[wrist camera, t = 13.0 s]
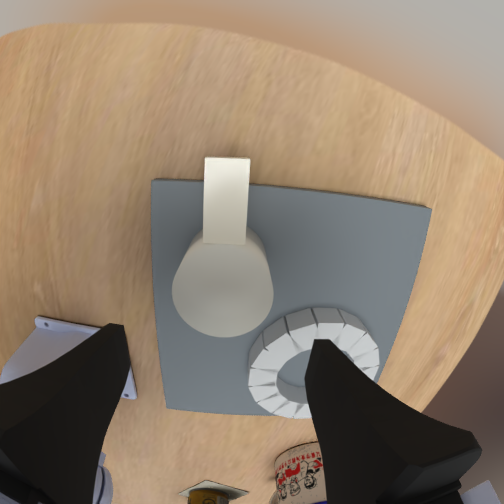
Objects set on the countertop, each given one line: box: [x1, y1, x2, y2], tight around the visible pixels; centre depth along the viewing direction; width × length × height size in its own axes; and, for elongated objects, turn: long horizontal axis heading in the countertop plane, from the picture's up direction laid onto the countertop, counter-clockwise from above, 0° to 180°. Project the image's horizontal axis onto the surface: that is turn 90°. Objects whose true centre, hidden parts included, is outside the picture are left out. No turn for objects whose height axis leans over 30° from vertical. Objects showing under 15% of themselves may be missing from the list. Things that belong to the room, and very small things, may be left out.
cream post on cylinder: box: [172, 156, 274, 337], centre depth 16 cm, size 9×5×5 cm, turn 176°
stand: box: [151, 179, 432, 419], centre depth 21 cm, size 19×20×3 cm
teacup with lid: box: [269, 442, 327, 504], centre depth 25 cm, size 12×9×12 cm
